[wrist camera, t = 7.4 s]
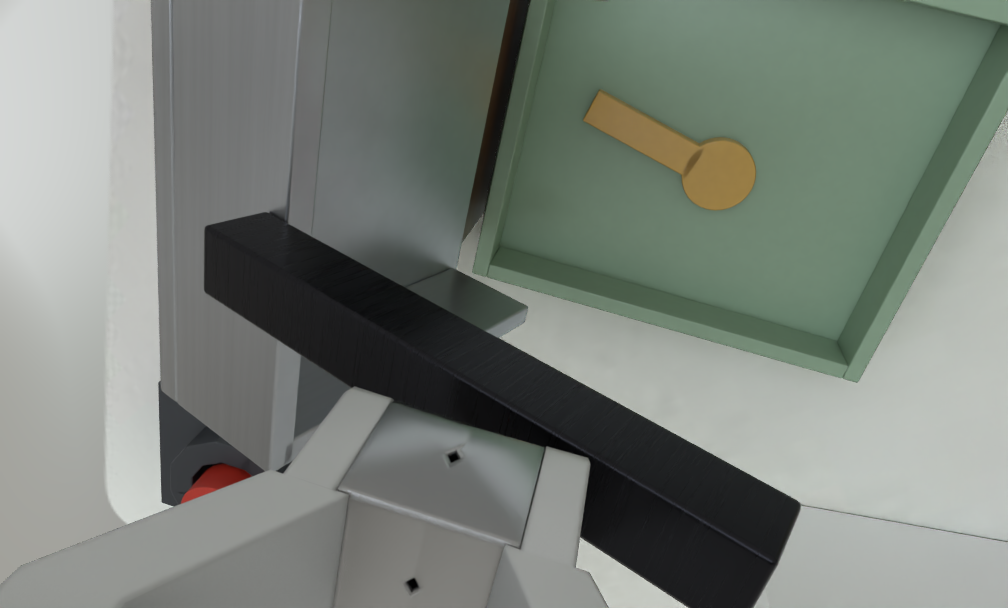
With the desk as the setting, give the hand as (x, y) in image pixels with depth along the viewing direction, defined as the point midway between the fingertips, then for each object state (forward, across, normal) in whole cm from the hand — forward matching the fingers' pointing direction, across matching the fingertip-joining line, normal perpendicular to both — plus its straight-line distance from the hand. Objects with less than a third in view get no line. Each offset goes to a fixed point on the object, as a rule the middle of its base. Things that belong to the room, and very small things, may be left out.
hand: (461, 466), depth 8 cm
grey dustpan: (+9, +6, 0) cm, 11 cm away
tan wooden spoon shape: (+20, -2, 0) cm, 20 cm away
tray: (+21, -4, 0) cm, 21 cm away
